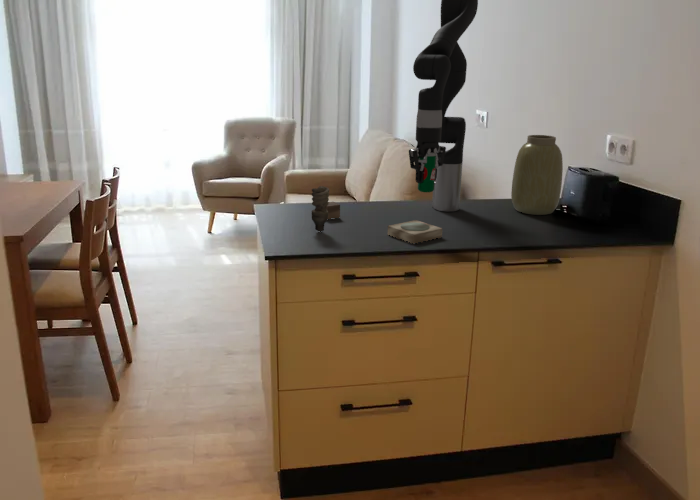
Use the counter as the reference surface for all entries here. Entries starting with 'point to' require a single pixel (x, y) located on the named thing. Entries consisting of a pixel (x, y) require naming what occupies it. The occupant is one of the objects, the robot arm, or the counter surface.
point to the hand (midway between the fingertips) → (425, 181)
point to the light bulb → (320, 207)
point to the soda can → (428, 174)
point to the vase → (537, 176)
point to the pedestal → (414, 231)
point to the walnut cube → (333, 210)
